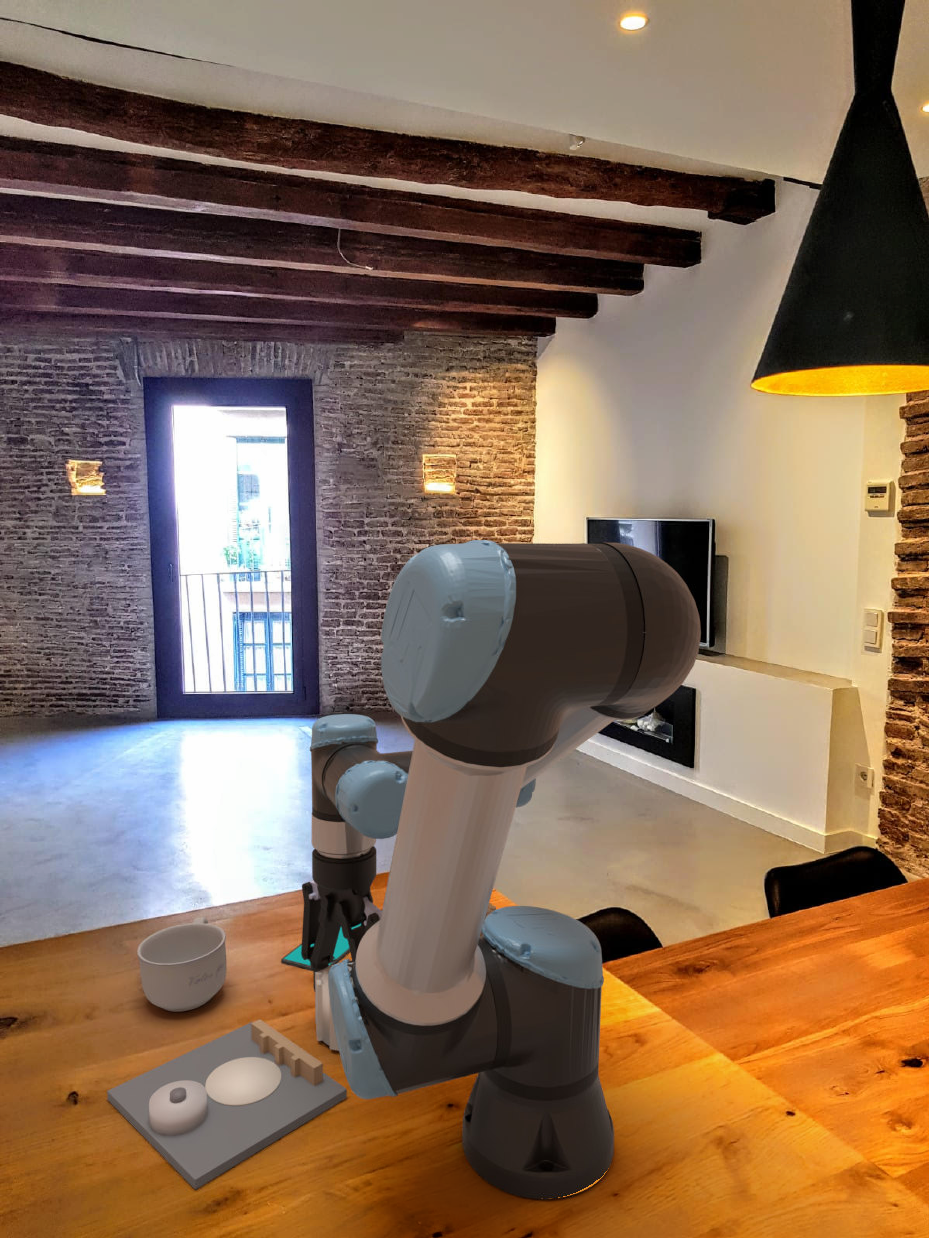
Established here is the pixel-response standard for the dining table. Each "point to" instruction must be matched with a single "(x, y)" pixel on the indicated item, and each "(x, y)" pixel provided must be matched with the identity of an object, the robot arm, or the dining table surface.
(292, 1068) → the carrier plate
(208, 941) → the teacup
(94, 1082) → the dining table surface
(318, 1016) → the planet gear
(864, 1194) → the dining table surface
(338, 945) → the smartphone
